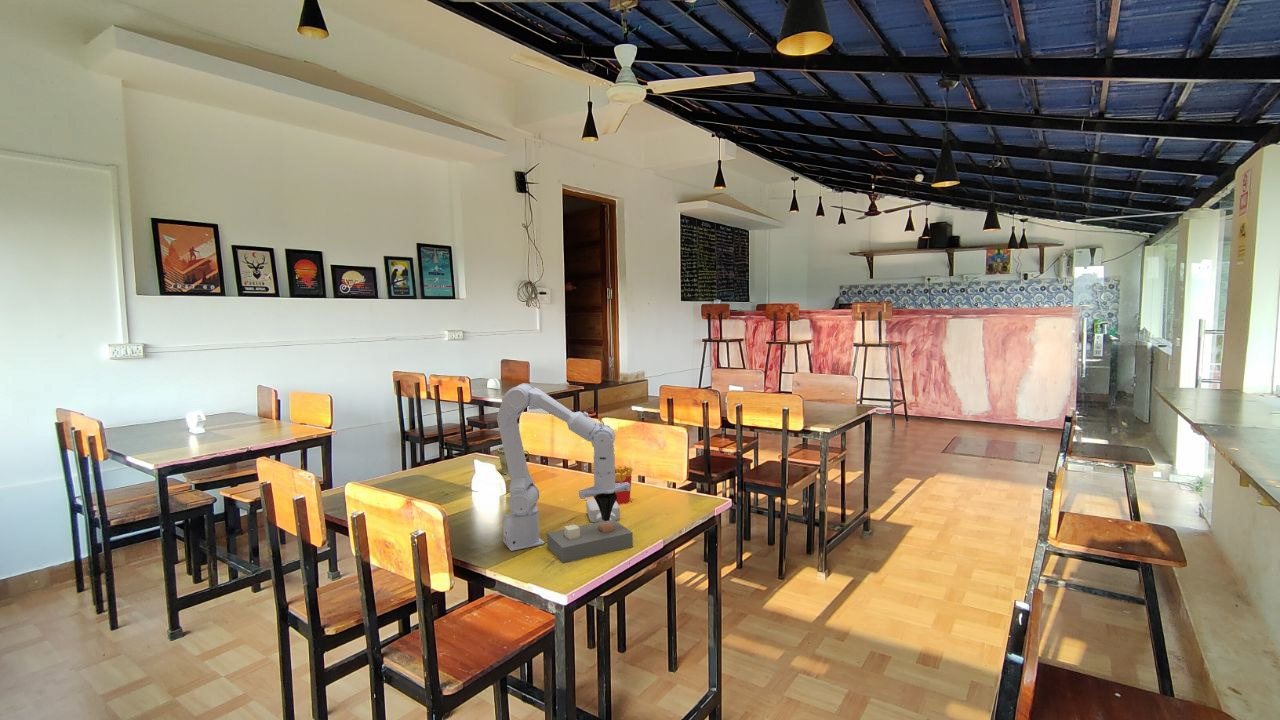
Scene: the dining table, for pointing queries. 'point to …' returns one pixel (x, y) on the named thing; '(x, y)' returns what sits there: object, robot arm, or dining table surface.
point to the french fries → (621, 477)
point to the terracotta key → (606, 527)
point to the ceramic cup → (503, 460)
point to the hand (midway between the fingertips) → (605, 519)
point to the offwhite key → (571, 532)
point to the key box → (589, 541)
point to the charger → (595, 512)
